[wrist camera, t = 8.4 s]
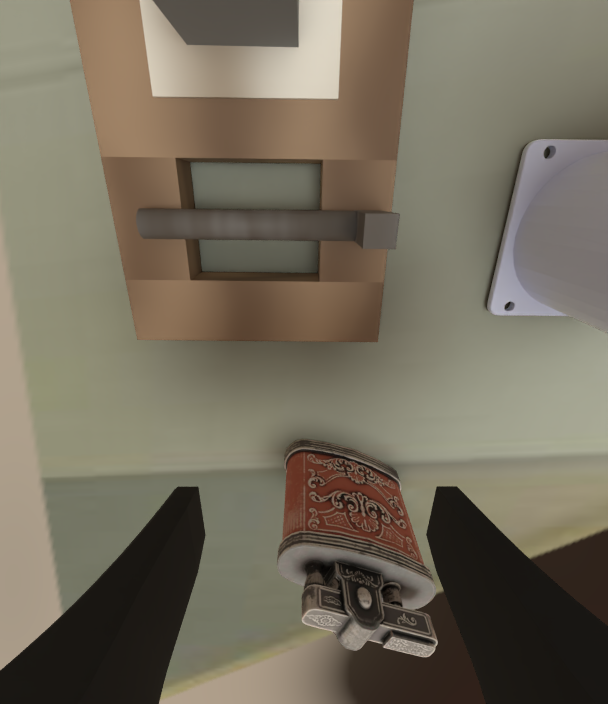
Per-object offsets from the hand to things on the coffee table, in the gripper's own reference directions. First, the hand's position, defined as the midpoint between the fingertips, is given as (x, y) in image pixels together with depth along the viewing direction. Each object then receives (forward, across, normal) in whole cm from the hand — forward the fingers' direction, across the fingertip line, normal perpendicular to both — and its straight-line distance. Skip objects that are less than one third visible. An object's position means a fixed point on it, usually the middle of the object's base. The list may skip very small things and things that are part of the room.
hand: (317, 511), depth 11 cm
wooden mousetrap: (+10, +3, -11) cm, 16 cm away
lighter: (+11, -2, +8) cm, 13 cm away
